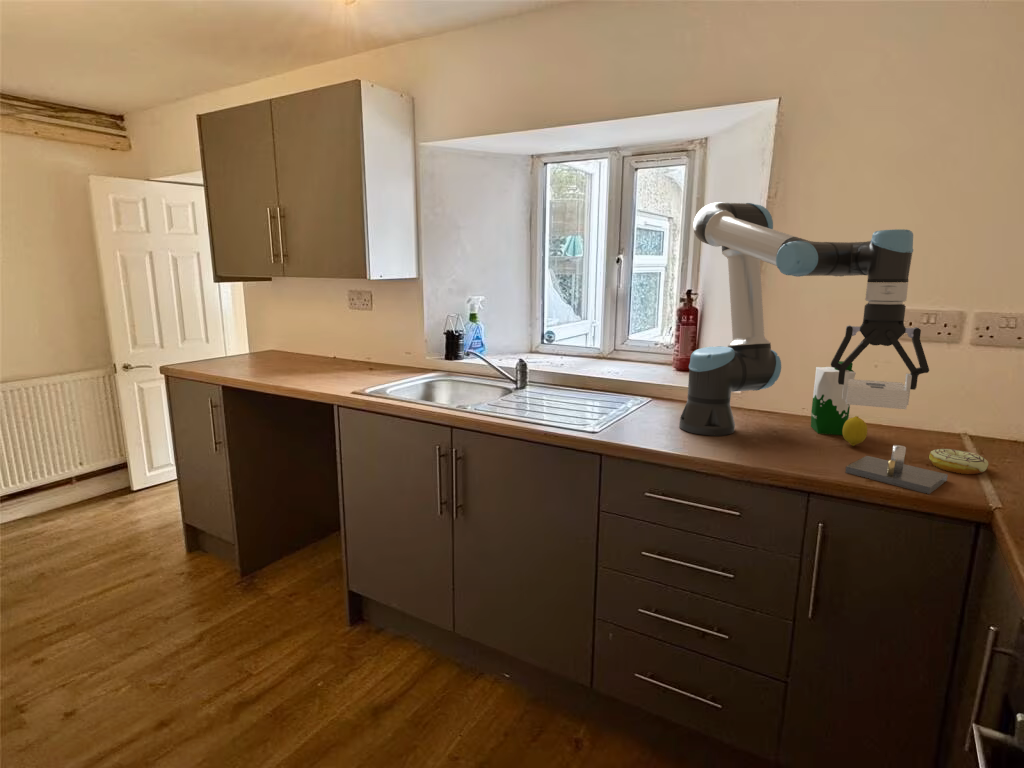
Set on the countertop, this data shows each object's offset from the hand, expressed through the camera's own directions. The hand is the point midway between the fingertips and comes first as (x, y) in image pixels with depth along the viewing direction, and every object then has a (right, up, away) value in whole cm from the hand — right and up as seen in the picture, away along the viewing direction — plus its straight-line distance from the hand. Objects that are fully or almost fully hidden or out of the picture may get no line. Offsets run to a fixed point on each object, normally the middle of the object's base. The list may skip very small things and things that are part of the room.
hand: (873, 401), depth 127 cm
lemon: (+8, -12, +21) cm, 26 cm away
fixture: (+4, -17, -1) cm, 17 cm away
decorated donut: (+22, -16, +5) cm, 28 cm away
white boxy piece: (0, 0, 0) cm, 0 cm away
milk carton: (+9, -10, +34) cm, 36 cm away
